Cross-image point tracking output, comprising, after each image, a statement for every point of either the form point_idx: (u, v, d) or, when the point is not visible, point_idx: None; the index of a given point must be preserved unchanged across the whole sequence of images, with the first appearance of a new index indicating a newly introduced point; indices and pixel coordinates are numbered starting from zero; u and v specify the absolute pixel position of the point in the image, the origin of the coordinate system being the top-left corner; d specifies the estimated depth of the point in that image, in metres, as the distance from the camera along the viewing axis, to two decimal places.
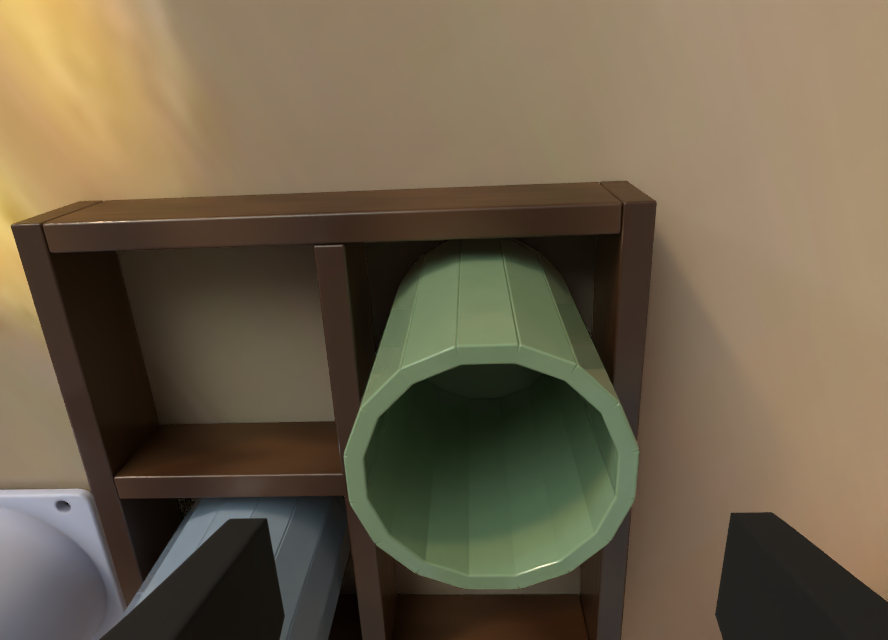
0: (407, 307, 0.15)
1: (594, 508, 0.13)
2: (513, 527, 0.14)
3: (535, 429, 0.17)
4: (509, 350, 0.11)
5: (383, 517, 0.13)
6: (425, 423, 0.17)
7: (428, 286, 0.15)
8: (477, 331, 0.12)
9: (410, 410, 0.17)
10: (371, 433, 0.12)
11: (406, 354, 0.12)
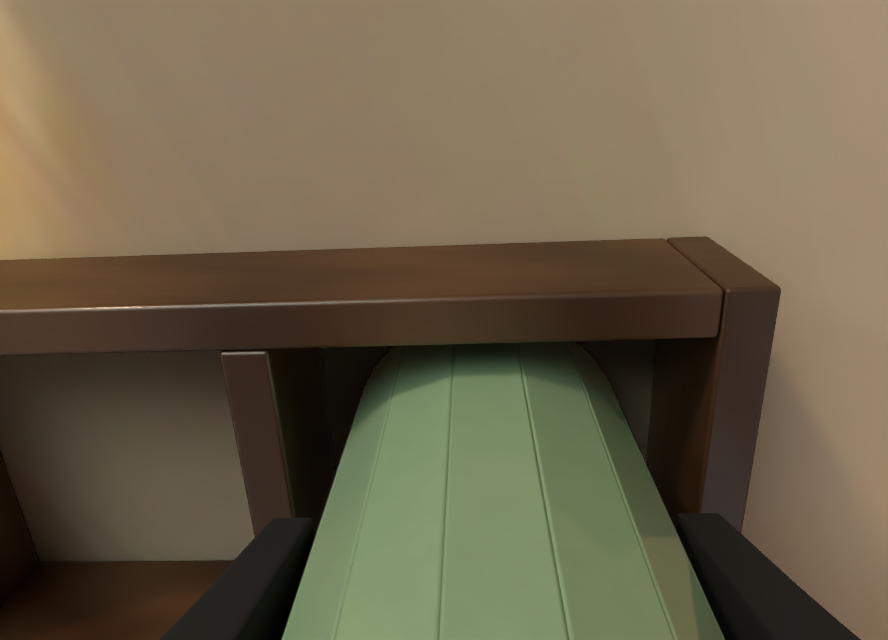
0: (363, 467, 0.09)
1: None
2: None
3: None
4: None
5: None
6: None
7: (399, 426, 0.09)
8: (482, 609, 0.06)
9: None
10: None
11: None
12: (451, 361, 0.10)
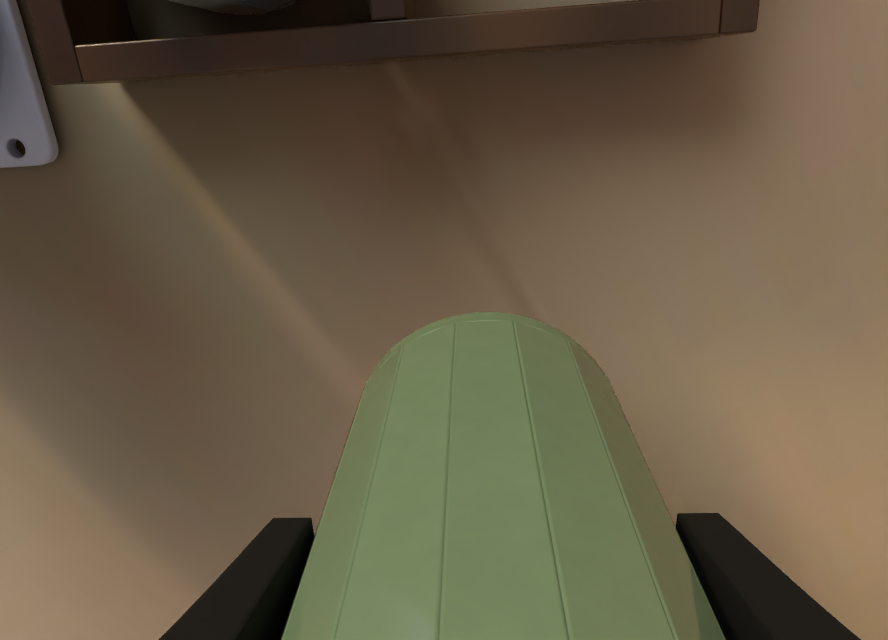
0: (363, 466, 0.09)
1: None
2: None
3: None
4: None
5: None
6: None
7: (399, 426, 0.09)
8: (482, 608, 0.06)
9: None
10: None
11: None
12: (451, 360, 0.10)
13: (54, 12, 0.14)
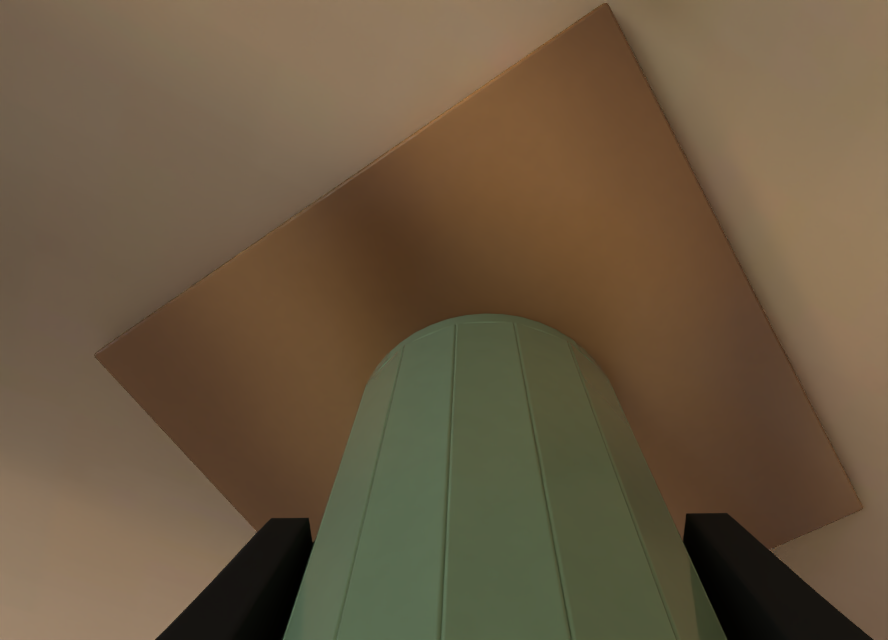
0: (363, 469, 0.09)
1: None
2: None
3: None
4: None
5: None
6: None
7: (400, 428, 0.09)
8: (484, 615, 0.06)
9: None
10: None
11: None
12: (452, 362, 0.10)
13: None
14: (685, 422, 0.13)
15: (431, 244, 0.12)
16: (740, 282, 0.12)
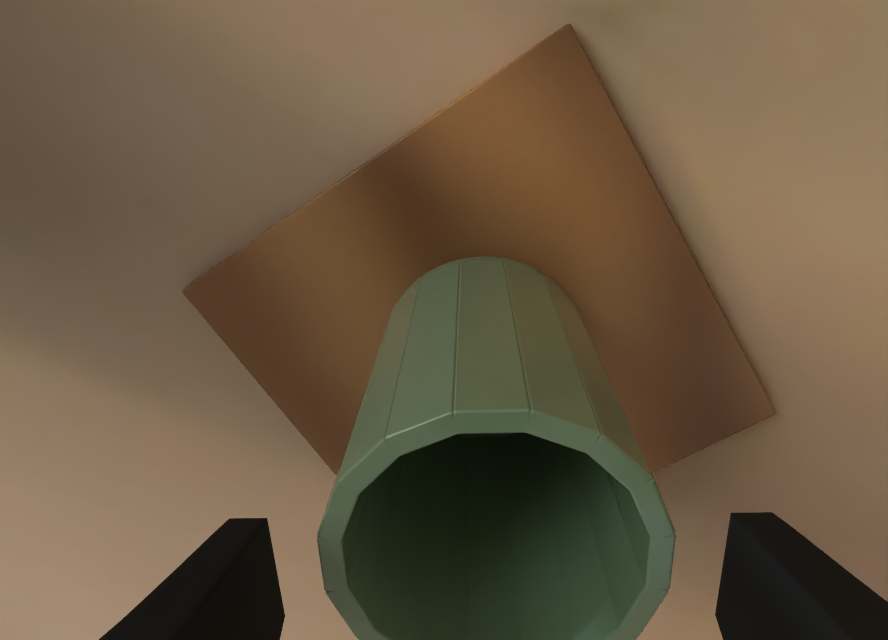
0: (397, 347, 0.13)
1: (618, 594, 0.11)
2: (520, 605, 0.12)
3: (544, 479, 0.15)
4: (517, 416, 0.09)
5: (366, 606, 0.11)
6: (419, 472, 0.15)
7: (422, 322, 0.13)
8: (479, 390, 0.09)
9: (402, 458, 0.15)
10: (350, 512, 0.10)
11: (392, 416, 0.10)
12: (457, 284, 0.14)
13: None
14: (635, 343, 0.17)
15: (442, 203, 0.16)
16: (673, 232, 0.16)
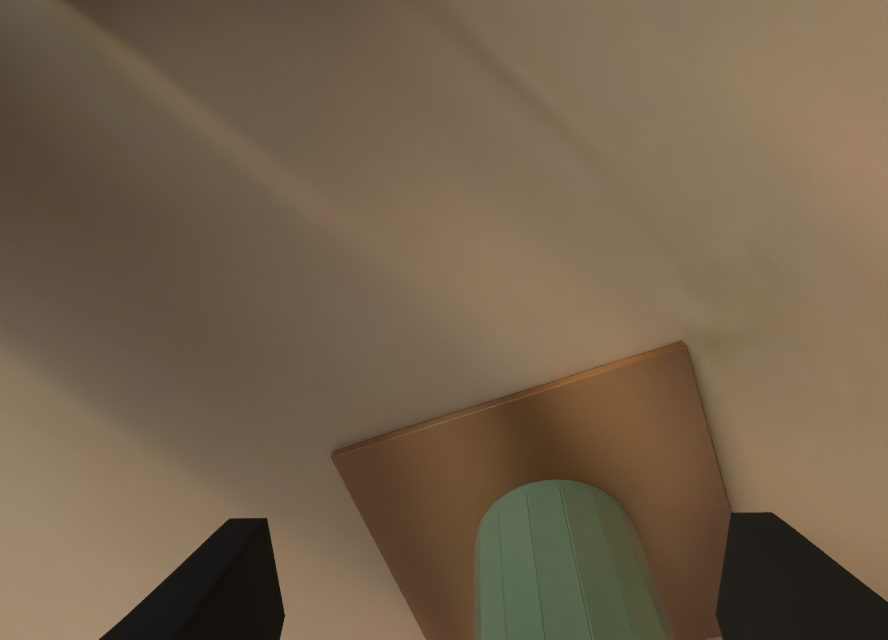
0: (528, 583, 0.17)
1: None
2: None
3: None
4: None
5: None
6: None
7: (546, 563, 0.18)
8: None
9: None
10: None
11: None
12: (565, 521, 0.19)
13: None
14: (671, 559, 0.22)
15: (555, 439, 0.20)
16: (721, 492, 0.21)
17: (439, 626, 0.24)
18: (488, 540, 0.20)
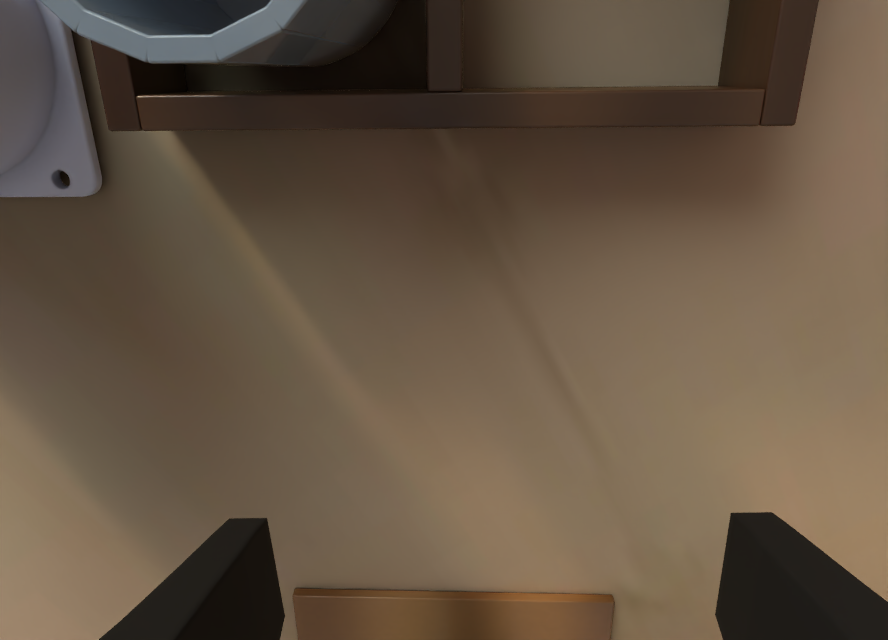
0: None
1: None
2: None
3: None
4: None
5: None
6: None
7: None
8: None
9: None
10: None
11: None
12: None
13: (119, 63, 0.14)
14: None
15: (486, 637, 0.24)
16: None
17: None
18: None
